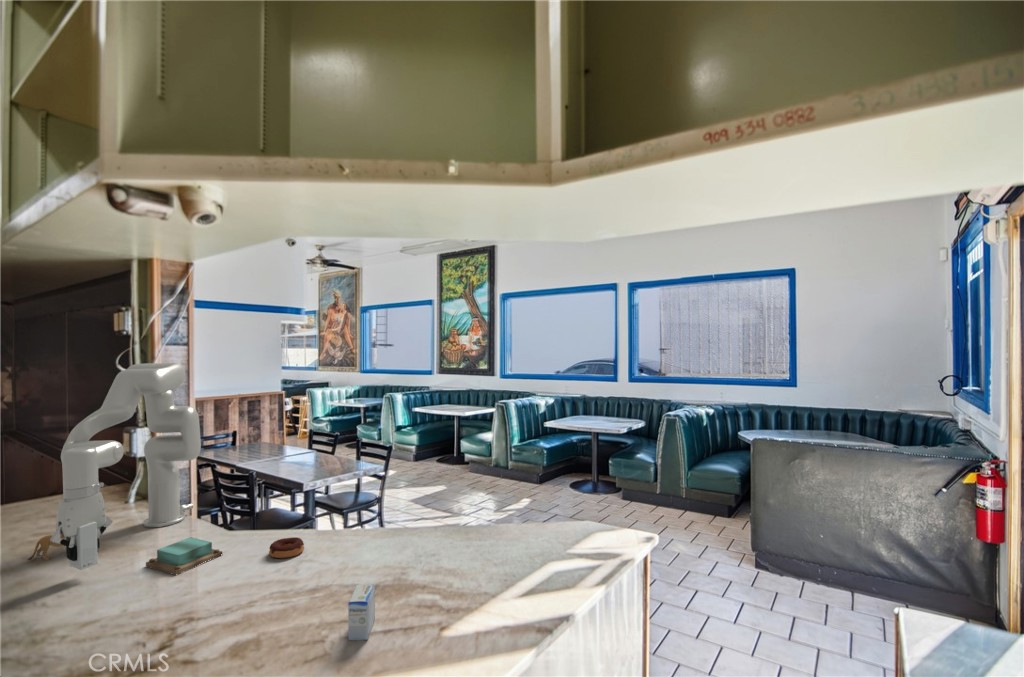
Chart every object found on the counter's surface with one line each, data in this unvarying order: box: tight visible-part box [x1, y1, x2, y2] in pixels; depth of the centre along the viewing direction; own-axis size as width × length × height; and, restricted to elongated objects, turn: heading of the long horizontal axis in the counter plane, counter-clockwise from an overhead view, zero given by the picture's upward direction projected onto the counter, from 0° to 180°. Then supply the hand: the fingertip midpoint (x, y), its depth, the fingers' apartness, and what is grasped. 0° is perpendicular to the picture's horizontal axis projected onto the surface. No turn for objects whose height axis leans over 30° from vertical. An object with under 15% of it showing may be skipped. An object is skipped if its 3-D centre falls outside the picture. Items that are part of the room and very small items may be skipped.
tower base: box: [145, 536, 223, 576], centre depth 150 cm, size 14×14×4 cm
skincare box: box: [68, 522, 99, 571], centre depth 139 cm, size 6×4×12 cm
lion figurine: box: [27, 534, 65, 561], centre depth 155 cm, size 15×5×9 cm, turn 130°
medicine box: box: [347, 583, 376, 641], centre depth 113 cm, size 8×4×9 cm, turn 5°
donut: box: [268, 536, 305, 559], centre depth 155 cm, size 10×10×4 cm
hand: (83, 555), depth 140 cm, fingers closed on skincare box, 4 cm apart
